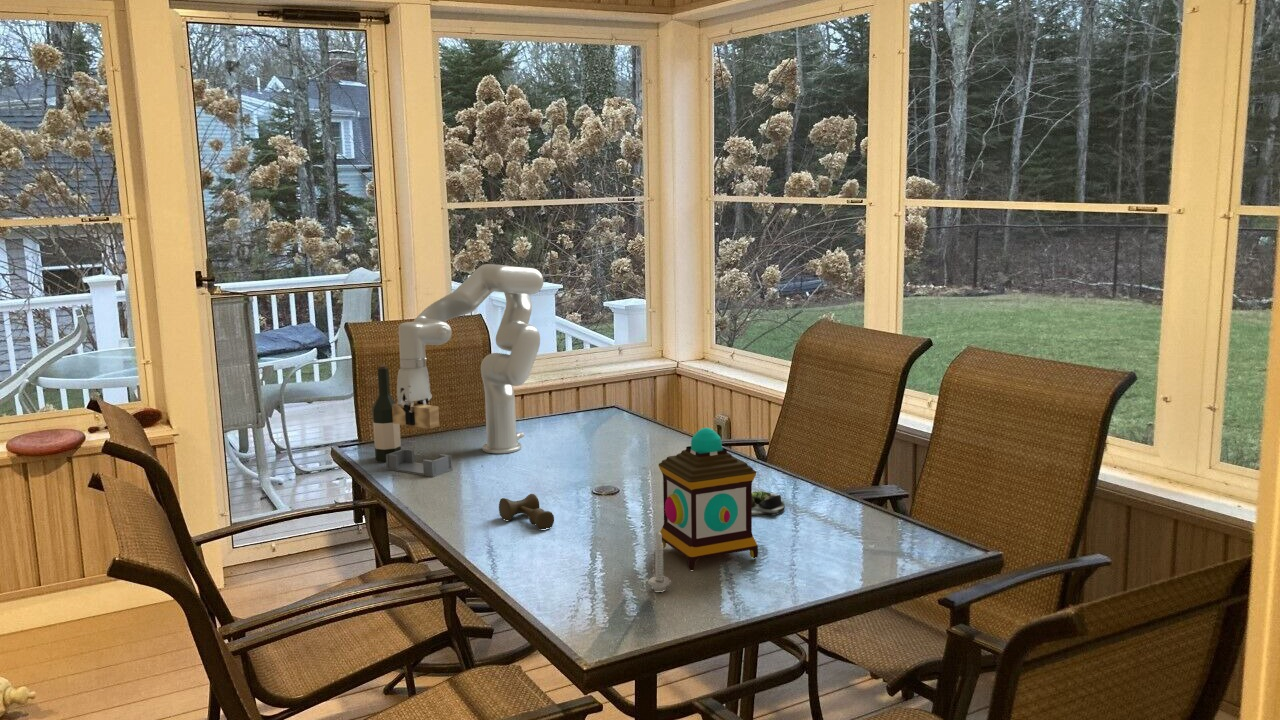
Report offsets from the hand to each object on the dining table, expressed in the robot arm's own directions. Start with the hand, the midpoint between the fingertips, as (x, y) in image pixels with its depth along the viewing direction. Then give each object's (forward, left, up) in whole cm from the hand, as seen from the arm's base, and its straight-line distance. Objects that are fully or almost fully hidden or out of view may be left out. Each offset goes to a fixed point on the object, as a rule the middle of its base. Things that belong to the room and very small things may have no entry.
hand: (415, 422), depth 313 cm
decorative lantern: (+24, +111, -15) cm, 114 cm away
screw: (+48, +112, -15) cm, 122 cm away
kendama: (+23, +59, -15) cm, 65 cm away
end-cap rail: (0, 0, -15) cm, 15 cm away
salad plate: (-13, +106, -15) cm, 107 cm away
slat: (0, 0, -1) cm, 1 cm away
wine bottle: (-5, -17, -15) cm, 24 cm away
